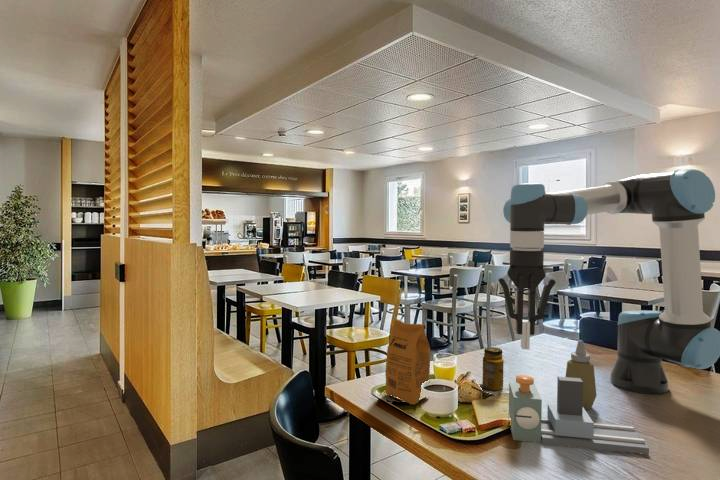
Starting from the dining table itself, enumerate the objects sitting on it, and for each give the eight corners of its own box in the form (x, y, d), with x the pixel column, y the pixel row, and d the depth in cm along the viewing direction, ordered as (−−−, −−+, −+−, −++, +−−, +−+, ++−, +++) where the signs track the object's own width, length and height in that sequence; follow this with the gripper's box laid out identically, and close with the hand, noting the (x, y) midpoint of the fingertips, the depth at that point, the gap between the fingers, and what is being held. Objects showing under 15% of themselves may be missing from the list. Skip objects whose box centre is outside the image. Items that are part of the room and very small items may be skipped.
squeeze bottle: (595, 414, 115) (596, 346, 114) (561, 407, 119) (562, 342, 119) (597, 403, 122) (598, 339, 121) (565, 397, 126) (566, 335, 126)
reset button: (532, 389, 107) (532, 375, 107) (534, 395, 103) (535, 381, 103) (514, 388, 108) (514, 374, 108) (516, 394, 104) (517, 380, 104)
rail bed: (629, 431, 106) (629, 422, 106) (648, 454, 95) (649, 445, 95) (534, 422, 111) (534, 414, 110) (542, 443, 100) (542, 434, 100)
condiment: (509, 389, 133) (509, 350, 132) (490, 395, 128) (491, 354, 128) (490, 382, 139) (490, 344, 138) (471, 387, 134) (471, 348, 134)
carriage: (582, 420, 107) (583, 373, 107) (593, 438, 98) (594, 387, 98) (547, 417, 109) (548, 371, 109) (555, 435, 100) (556, 384, 100)
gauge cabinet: (533, 423, 110) (534, 383, 110) (541, 443, 100) (542, 400, 99) (508, 420, 111) (509, 382, 111) (513, 441, 101) (514, 398, 101)
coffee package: (402, 386, 135) (403, 315, 134) (434, 398, 126) (435, 322, 125) (379, 394, 128) (379, 320, 128) (411, 408, 119) (411, 327, 118)
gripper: (553, 248, 106) (551, 345, 107) (496, 248, 109) (495, 342, 110) (560, 250, 99) (558, 354, 100) (498, 249, 102) (497, 350, 103)
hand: (525, 347), depth 105 cm, fingers closed
